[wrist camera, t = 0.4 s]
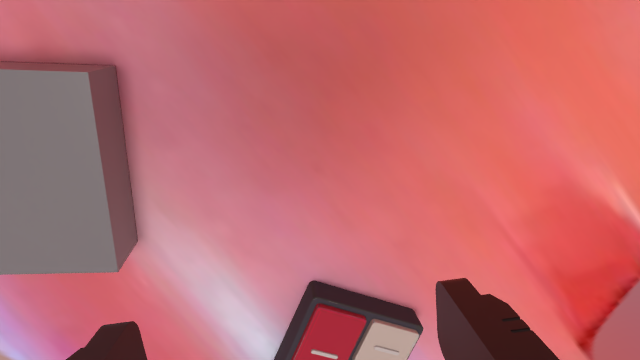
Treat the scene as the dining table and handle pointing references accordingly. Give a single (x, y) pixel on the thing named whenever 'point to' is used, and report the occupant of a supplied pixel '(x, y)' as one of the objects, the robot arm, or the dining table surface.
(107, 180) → the header
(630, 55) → the dining table surface
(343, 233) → the dining table surface
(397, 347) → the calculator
